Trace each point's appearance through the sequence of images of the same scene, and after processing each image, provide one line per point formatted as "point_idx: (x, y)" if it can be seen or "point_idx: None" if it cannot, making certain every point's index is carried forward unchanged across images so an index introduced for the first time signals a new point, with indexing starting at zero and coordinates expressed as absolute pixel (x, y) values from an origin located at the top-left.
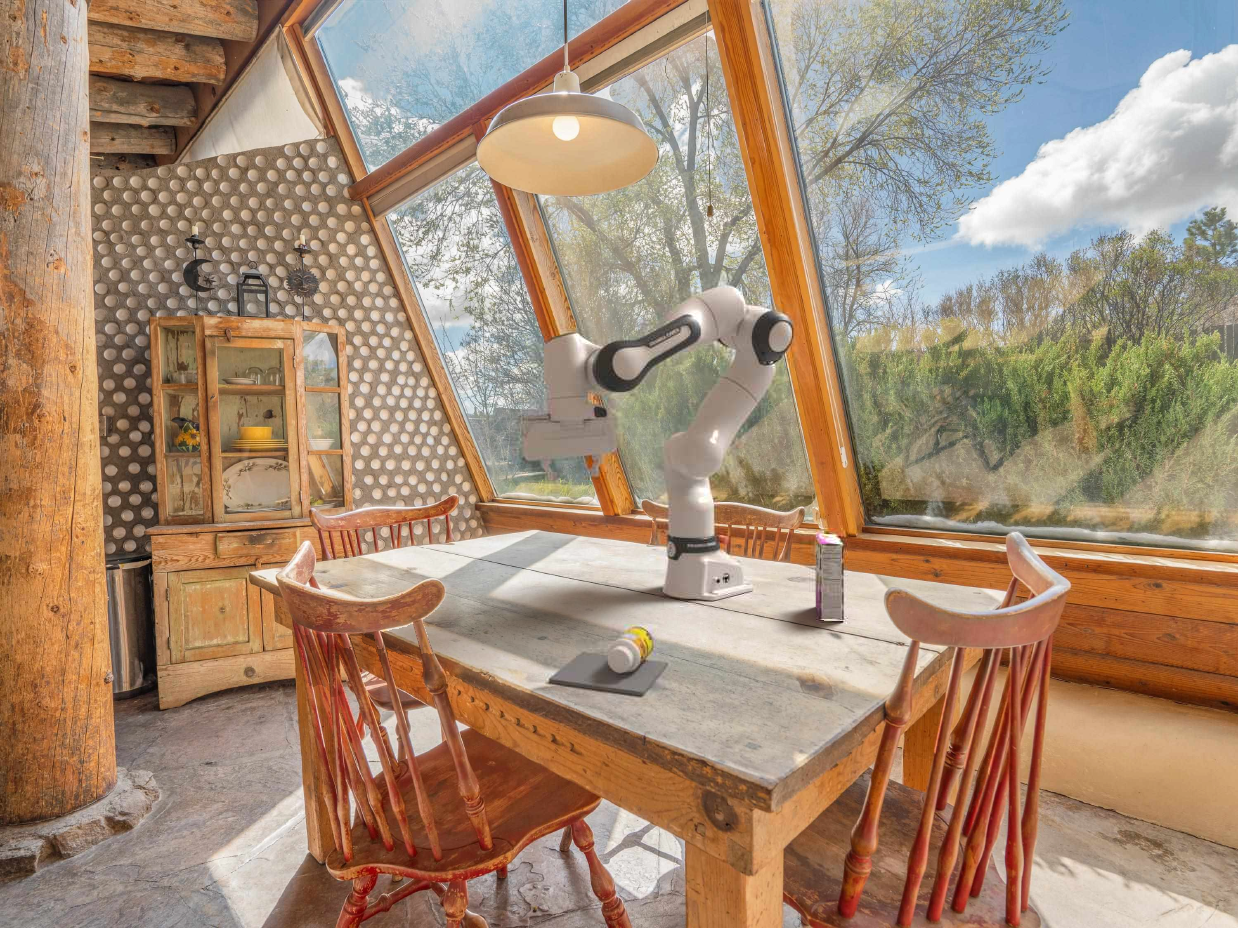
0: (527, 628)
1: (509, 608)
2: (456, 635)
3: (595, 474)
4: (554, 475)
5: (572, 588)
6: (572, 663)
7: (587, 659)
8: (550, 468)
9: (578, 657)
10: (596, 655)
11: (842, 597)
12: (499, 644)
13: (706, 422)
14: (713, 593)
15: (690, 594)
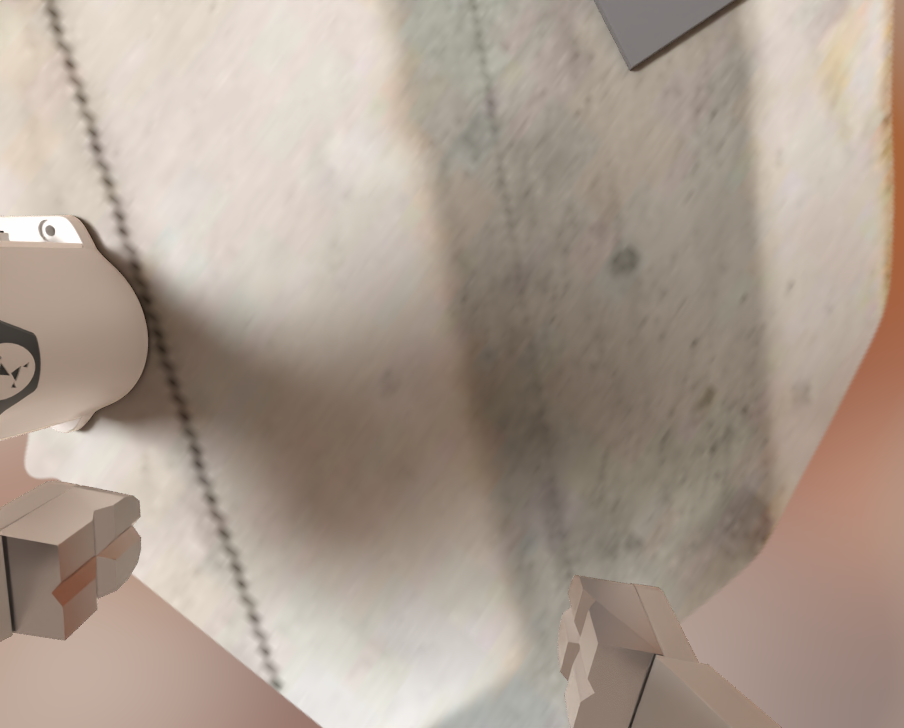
0: (608, 355)
1: (546, 530)
2: (777, 426)
3: (79, 492)
4: (627, 618)
5: (315, 570)
6: (707, 2)
7: (659, 1)
8: (726, 719)
9: (666, 33)
10: (621, 14)
11: None
12: (737, 290)
13: None
14: (46, 240)
15: (107, 272)
